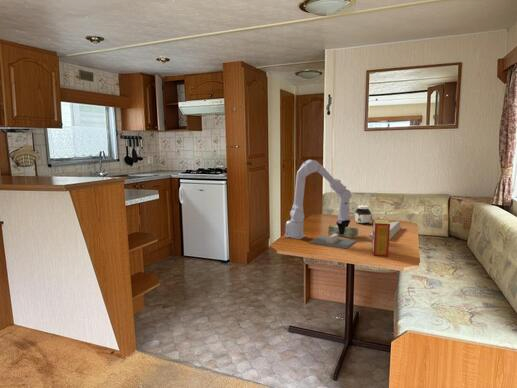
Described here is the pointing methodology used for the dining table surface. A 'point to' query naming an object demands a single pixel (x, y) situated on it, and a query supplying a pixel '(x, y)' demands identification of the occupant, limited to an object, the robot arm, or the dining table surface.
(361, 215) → the white toy car
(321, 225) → the dining table surface
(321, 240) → the stand
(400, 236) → the dining table surface
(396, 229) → the decorative molding
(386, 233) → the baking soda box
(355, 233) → the bar
